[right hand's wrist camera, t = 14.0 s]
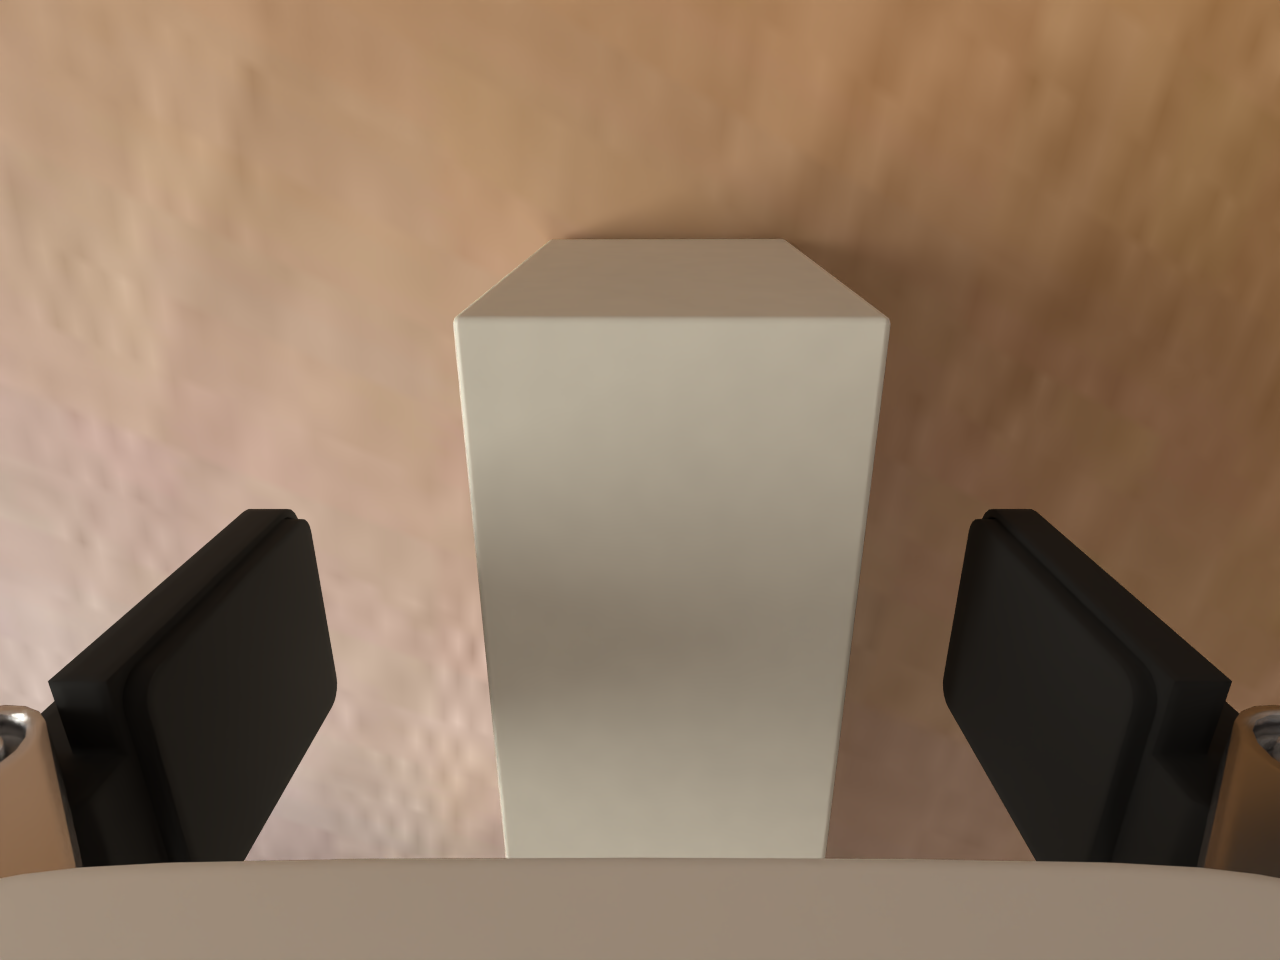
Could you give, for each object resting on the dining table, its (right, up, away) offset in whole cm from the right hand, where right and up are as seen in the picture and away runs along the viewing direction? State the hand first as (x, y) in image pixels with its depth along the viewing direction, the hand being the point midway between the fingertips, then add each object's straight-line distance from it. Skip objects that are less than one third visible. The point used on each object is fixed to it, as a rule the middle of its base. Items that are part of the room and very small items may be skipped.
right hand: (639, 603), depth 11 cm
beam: (+1, -19, +15) cm, 24 cm away
